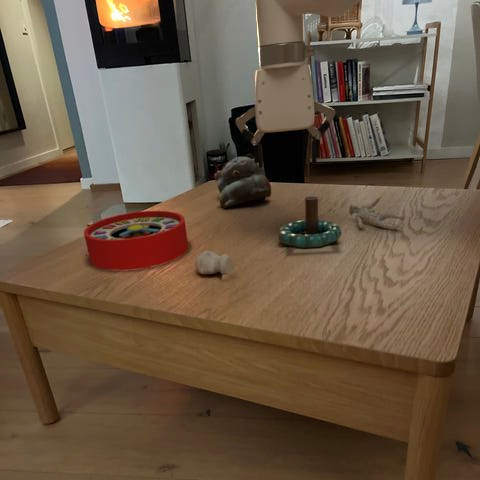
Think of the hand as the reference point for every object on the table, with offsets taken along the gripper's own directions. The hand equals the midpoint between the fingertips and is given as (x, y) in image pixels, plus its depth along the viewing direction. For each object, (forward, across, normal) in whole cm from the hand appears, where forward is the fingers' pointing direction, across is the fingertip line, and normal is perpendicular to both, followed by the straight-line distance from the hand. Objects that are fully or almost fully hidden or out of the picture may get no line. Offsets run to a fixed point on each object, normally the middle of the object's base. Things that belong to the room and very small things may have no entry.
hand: (287, 164), depth 86 cm
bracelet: (+13, -4, 0) cm, 14 cm away
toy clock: (+15, +31, -1) cm, 35 cm away
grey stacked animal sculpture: (+15, +12, -36) cm, 41 cm away
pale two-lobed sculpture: (+16, +14, +13) cm, 25 cm away
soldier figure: (+16, -18, -10) cm, 26 cm away
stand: (+16, -4, 0) cm, 16 cm away
